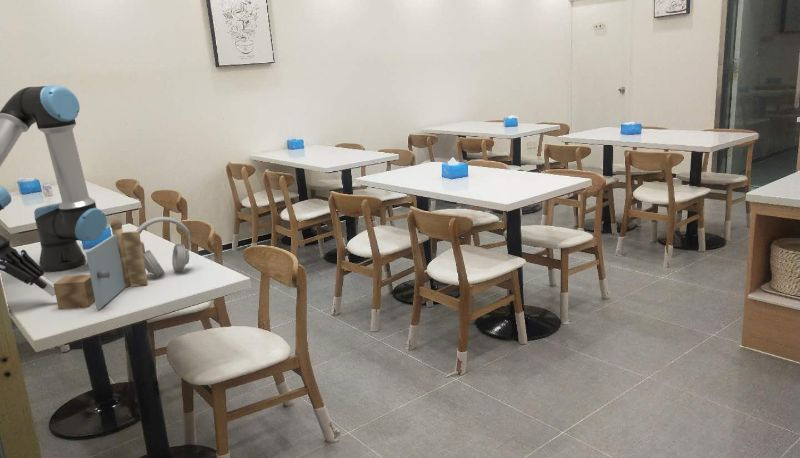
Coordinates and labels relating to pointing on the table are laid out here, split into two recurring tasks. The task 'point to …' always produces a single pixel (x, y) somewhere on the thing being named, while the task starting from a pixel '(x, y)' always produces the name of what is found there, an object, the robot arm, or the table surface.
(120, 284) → the door
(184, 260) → the headphones
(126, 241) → the brown long wooden part
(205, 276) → the table surface
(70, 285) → the walnut block
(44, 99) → the robot arm
